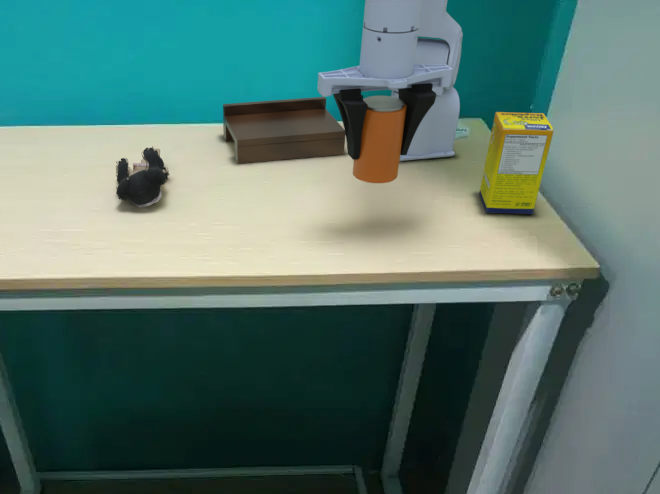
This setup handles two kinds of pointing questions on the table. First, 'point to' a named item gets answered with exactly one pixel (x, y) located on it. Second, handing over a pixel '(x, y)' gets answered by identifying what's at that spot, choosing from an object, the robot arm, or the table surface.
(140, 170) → the toy figure
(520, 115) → the supplement box
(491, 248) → the table surface
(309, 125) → the shelf
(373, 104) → the can
